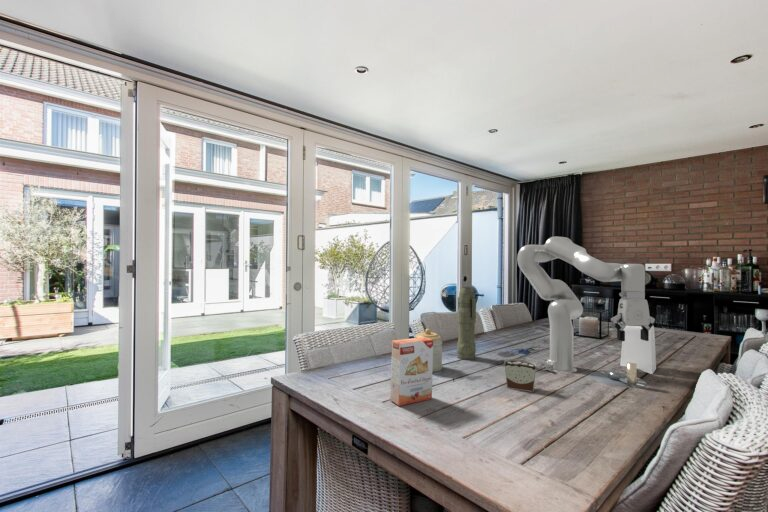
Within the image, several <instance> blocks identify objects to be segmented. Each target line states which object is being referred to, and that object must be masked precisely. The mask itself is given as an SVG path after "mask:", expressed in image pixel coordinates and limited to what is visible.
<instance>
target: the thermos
mask: <svg viewBox="0 0 768 512" xmlns="http://www.w3.org/2000/svg"><path fill="white" fill-rule="evenodd" d="M458 292H459V293H458V297H457V323H458V326H457V327H458V333H457V334H458V335H457V337H458V340H457V343H456V352H457V358H458V359H460V360H465V361H470V360H471V361H472V360H475V359H476V348H477V347H476V346H477V345H476V341H475V335H476V334H475V333H476V331H475V329H476V328H475V326H476V325H475V324H476V319H477V300H476V298H475V297H476V295H475V290H474V288H473V287H471V286H462V287H460V289H459V291H458Z"/></svg>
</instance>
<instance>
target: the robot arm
mask: <svg viewBox="0 0 768 512" xmlns="http://www.w3.org/2000/svg"><path fill="white" fill-rule="evenodd" d="M516 257H517V258H516V260H517V266H518V267H519V269H520V271H521V272H522V273H523V275H524V276H525V277H526V279H527V280H528V282H529V284H530V285H531V286H532V288H533V289H534V290H535V291H536V294H538V296H539V297H540V299H542V300H544V301H552V302H550V303H549V305H548V308H547V314H548V315H547V316H548V321H549V322H548V323H549V358H547V360H545V361H543V360H539V361H538V365H539V366H540V367H541V366H542V367H543V366H544V367H545V369H546V370H547V371H549V372H551V373H555V374H557V372H560V373H562V372H563V373H575V372H577V371H578V369H577V368H576V367H574V333H575V332H574V326H573V322H572V320H575V319H579V318H580V317H581V316H582V315H583V312H584V307H583V304H582V303H581V301H580V300H579V298H578V297H577V296H576V294H575V293H574V292H573V290H572V288H570V286H568V284H567V283H566V282H564V281H563V280H561V279H555V278H554V279H553V278H552V277H550V276H549V275H548V273H547V272H546V271H545V269H544V268H543V267H542V266H541V265H539V263H547V262H551V261H552V260H556V259H560V260H562V261H564V262H566V263H568V264H570V265H572V266H574V268H576V269H577V270H578V271H579V272H581V273H582V274H584V275H586V276H589V277H590V278H592V279H593V280H594V279H595V280H596V281H599V282H603V283H608V282H609V283H610V282H611V283H612V282H620V283H621V284H620V285H621V289H620V290H621V292H619V293H618V295H619V297H621V298H620V299H619V300H618V301H619V302H618V308H617V314H616V315H615V316H613V317H611V318H610V321H611V323H612V326H613V327H614V329H615V330H616V339H617V340H618V341H621V342H622V341H625V331H623V330H624V328H625V327H626V326H641V328H642V329H641V340H645V341H648V340H649V330H650V328H651V327H652V326H654V323H655V321H656V319H655V317H653V316H650V309H649V303H648V300H647V299H645V298H646V297H645V296H646V292H645V291H646V290H645V289H646V283H645V282H646V279H645V277H646V276H645V275H646V272H645V271H646V268H645V265H644V264H642V263H616V262H604V261H602V260H600V259H598V258H596V257H593V256H591V254H589V253H587V249H586V248H585V247H583V246H580V245H578V244H576V243H574V242H573V240H571V239H570V238H569V237H565V236H557V235H556V236H550V237H549V238H547V240H546V241H545V243H544V244H526V245H523V246H522V247H521V248H519V250H518V253H517V256H516Z"/></svg>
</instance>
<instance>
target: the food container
mask: <svg viewBox="0 0 768 512" xmlns="http://www.w3.org/2000/svg"><path fill="white" fill-rule="evenodd" d="M502 367H504V370H505V371H504V373H505V381H506V382H505V383H506V388H507V389H513V390H518V391H525V392H534V391H535V390H534V389H535V380H536V373H537V372H538V371H539V370H538V366H537V364H536V363H535V362H533V361H530V360H526V359H519V358H515V359H514V358H513V359H512V358H511V359H509V358H508V359H506V360H504V362H503V365H502Z"/></svg>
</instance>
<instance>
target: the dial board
mask: <svg viewBox="0 0 768 512" xmlns="http://www.w3.org/2000/svg"><path fill="white" fill-rule="evenodd" d="M588 378H590V379H592V380H593V381H595V382H597V383H601V384H604V385H608V386H614V387H619V388H628V389H629V388H630V389H638V388H639V389H641V388H645V387H646V386H648V383H647V382H646V381H645V380H644V379H641V378H639V377H637V385H636V386H631V385H628V384H626V383H625V382H622V381H620V380H616V379H611V378H609V377H608V371H594V372H593V371H592V372H590V373H588ZM626 378H627V373H626Z"/></svg>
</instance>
